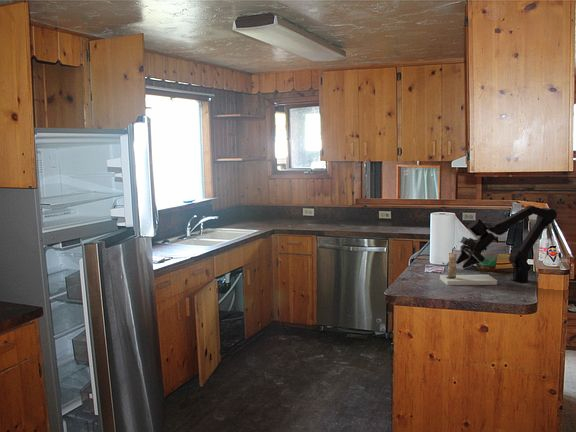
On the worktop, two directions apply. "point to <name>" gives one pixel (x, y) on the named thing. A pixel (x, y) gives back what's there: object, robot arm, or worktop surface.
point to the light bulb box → (458, 252)
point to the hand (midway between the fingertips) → (459, 265)
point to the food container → (488, 262)
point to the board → (469, 280)
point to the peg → (452, 266)
